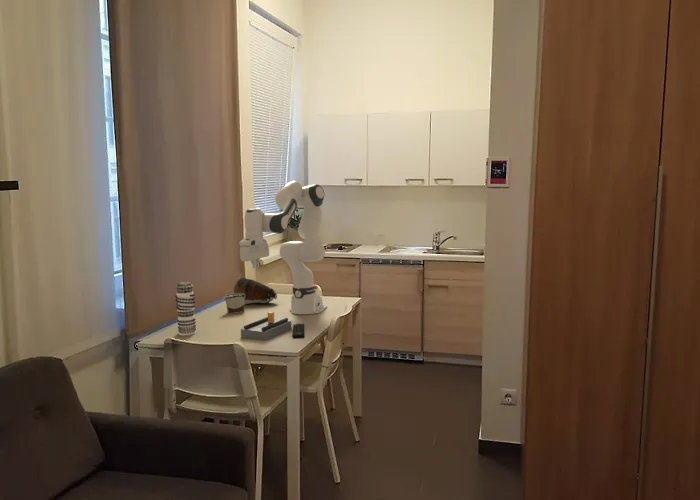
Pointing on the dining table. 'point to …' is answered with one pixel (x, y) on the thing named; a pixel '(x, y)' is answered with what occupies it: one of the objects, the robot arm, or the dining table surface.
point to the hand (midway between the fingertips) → (255, 267)
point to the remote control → (298, 330)
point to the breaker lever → (270, 317)
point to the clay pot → (254, 291)
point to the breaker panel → (258, 334)
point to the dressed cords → (265, 326)
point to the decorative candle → (185, 308)
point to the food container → (235, 302)
